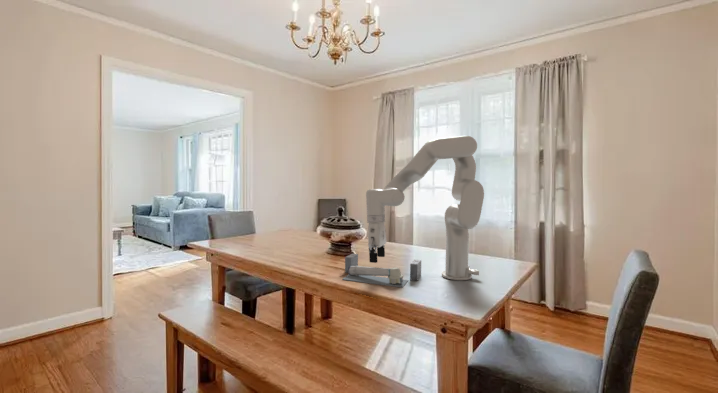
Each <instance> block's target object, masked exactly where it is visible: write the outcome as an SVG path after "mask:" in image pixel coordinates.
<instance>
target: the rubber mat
mask: <svg viewBox="0 0 718 393" xmlns="http://www.w3.org/2000/svg"><path fill="white" fill-rule="evenodd" d="M341 280H342V281H348V282H349V281H350V282H355V283H365V284H372V285H379V286H387V287H395V288H396V287H397V288H404V286H405V285H406V284H407V283H409V280H408V279H403V283H396V284H392V283H390V282H389V279H388V277H387V276H362V275H358V276H356V275H349V274H348V275H346V276H344V277H343V278H342V279H341Z"/></svg>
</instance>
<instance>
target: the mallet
mask: <svg viewBox="0 0 718 393" xmlns="http://www.w3.org/2000/svg"><path fill="white" fill-rule="evenodd" d="M347 274H348V275H356V276H358V275H362V276H377V277H387V278H388V279H389V282H390V283H392V284H396V283H403V280H404V279H403V278H404V275H403V274H402V273H401V269H400V267H391V268H389V267H388V268H387V267H377V266H376V267H373V266H360V265H359V264H358V265H357V266H350V267H349V268H348V273H347Z"/></svg>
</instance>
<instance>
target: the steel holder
mask: <svg viewBox="0 0 718 393" xmlns="http://www.w3.org/2000/svg"><path fill="white" fill-rule="evenodd" d="M357 265H358V266H359V254H358V253H351V254H349V255H346V256H345V257H344V273H345V274H348V268H349V267H350V266H357ZM409 268H410V269H409V280H410V281H412V282H413V281H414V282H418V280H420V278H421V277H422V259H413V261H412V262H410V264H409Z"/></svg>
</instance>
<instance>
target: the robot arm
mask: <svg viewBox="0 0 718 393" xmlns="http://www.w3.org/2000/svg"><path fill="white" fill-rule="evenodd" d="M477 149H478V143H477V140H476V139H475V138H474V137H473V136H470V135H459V136H449V137H438V138H434V139H431V140H428V141H427V142H426V143H424V144H423V145H422V146H421V148H420V149H419V150H418V152H417V153H416V154H415V155H414V156H413V157H412V158H411V159H410V161H409V162H407V164H406V165H405V166H404V167H403V168H402V169H400V171H399V172H398V173H397V174H396V175H395V176H393V178H392V179H391V180H390V181H389V182H388V183H387V185H386V186H385V187H384V188H383V189H382V188H371V189H367V190H366V192H365V197H366V198H365V200H366V201H365V202H366V223H367V224H368V225H367V226H368V228H367V229H368V230H367V240H368V241H367V242H368V244H367V246H368V253H369V254H368V255H369V258H368V260H369V263H374V264H377V263H378V257H379V258H385V256H386V252H385V248H386V247H385V245H386V244H387V231H386V225H385V223H386V209H385V208H386V207H387V206H388V207H398V206H400V205H402V204H403V203H404V202H405V193H404V192H405V190H406V189H407V188H409V187H410V186H411V185H412V184H414V183H417V182H419V181H420V180H422V179H423V178H424V177H425V175H426V174H427V173H428V172H429V171H430V169H431V168H432V167H433V166H434V165H435V164H436V163H437V162H438V160H447V159H452V161H453V162H454V166H455V167H454V168H455V170H454V175H453V176H454V177H453V181H452V182H453V183H452V187H451V196H452V198H453V199H454V200H456V201H458V202H459V203H455V204H451V205H449V206H448V207H447V208H446V209H445V212H444V223H445V235H446V236H445V268H444V269H445V270H443V271H441V276H442V277H443V278H445V279H447V280H451V281H468V280H471V279H472V277H473V276H472V275H474V276H480V271H479V270H477V269H471V268H470V266H469V249H470V248H469V244H470V234H469V230H472V229H474V228H475V227H476V226H477V225H478V223H479V222H480V219H481V215H482V214H481V213H482V210H483V203H484V199H485V198H484V197H485V190H484V187H483V185H482V183H481V182H480V181H478V180H476V172H477V163H476V160H475V158H474V156H473V155H474V154H475V153H476V152H477ZM385 206H386V207H385Z"/></svg>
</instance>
